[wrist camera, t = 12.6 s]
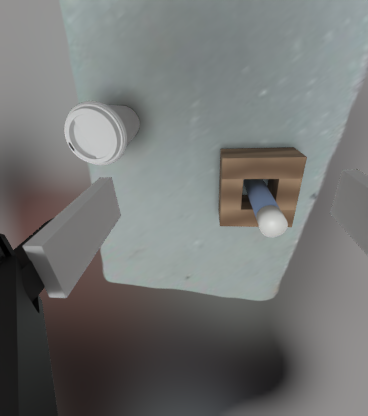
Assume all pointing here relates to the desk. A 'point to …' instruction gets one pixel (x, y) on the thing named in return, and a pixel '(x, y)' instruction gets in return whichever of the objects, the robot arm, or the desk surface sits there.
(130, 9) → the desk surface
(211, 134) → the desk surface
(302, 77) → the desk surface
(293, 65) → the desk surface
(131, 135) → the coffee cup
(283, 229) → the marker
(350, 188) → the robot arm
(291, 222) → the socket block
